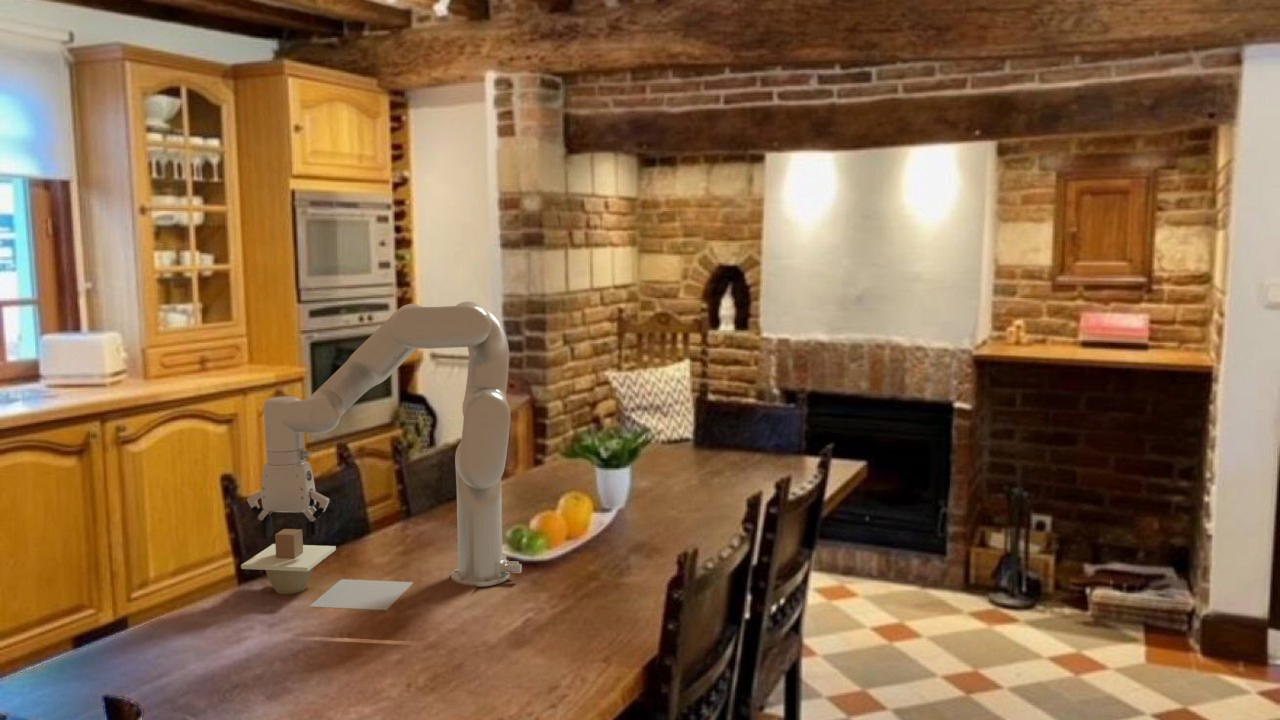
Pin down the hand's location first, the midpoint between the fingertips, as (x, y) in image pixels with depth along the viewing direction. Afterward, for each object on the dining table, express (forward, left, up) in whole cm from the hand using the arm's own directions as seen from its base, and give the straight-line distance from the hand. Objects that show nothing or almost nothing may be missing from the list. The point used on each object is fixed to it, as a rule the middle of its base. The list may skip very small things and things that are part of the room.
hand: (290, 537), depth 210 cm
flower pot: (0, 0, -12) cm, 12 cm away
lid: (0, 0, -5) cm, 5 cm away
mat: (-16, +1, -12) cm, 20 cm away
